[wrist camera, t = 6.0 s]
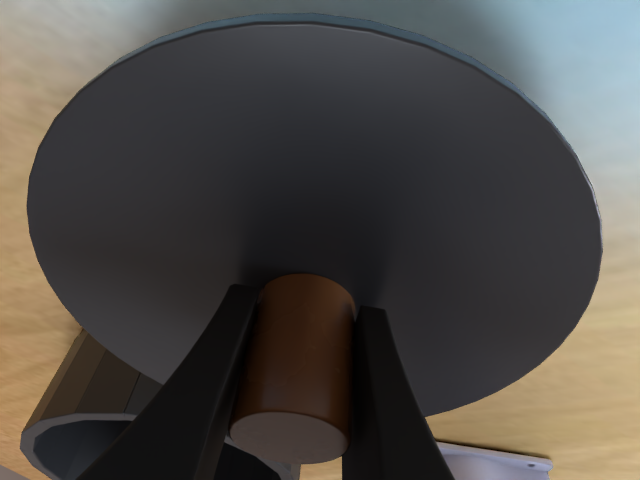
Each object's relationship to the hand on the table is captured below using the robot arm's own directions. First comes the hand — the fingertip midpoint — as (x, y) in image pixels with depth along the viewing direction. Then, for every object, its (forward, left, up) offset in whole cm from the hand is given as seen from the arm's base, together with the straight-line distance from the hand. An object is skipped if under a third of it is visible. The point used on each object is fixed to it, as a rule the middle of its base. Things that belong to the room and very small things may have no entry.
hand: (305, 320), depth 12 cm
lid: (0, 0, -1) cm, 1 cm away
